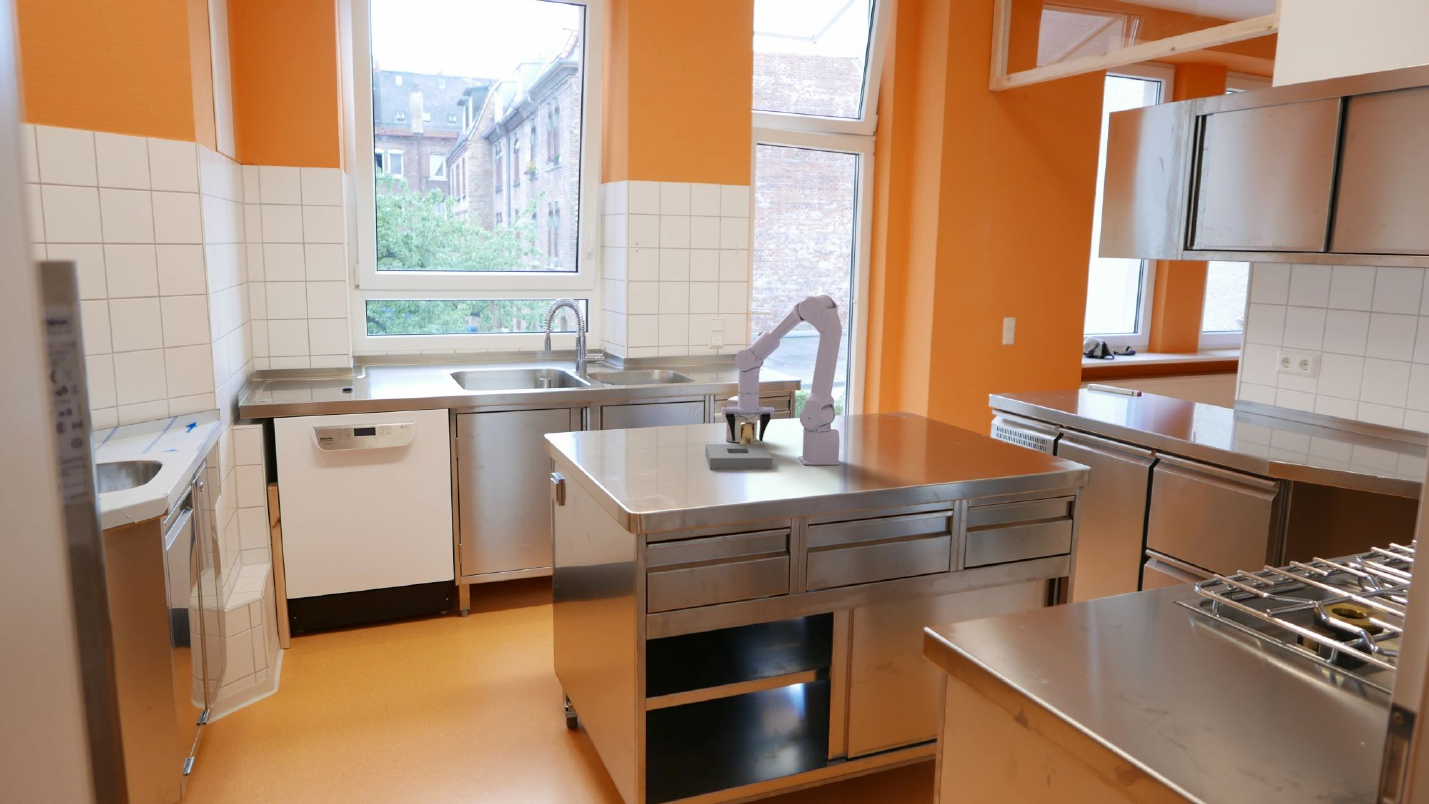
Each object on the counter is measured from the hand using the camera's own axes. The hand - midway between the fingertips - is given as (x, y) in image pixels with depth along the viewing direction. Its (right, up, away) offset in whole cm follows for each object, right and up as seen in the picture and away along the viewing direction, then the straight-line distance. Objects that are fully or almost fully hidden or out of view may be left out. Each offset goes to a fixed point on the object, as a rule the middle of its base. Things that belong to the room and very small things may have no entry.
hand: (747, 440), depth 253 cm
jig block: (-3, -5, -13) cm, 14 cm away
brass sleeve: (0, -3, +1) cm, 3 cm away
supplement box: (-1, -1, +13) cm, 13 cm away
